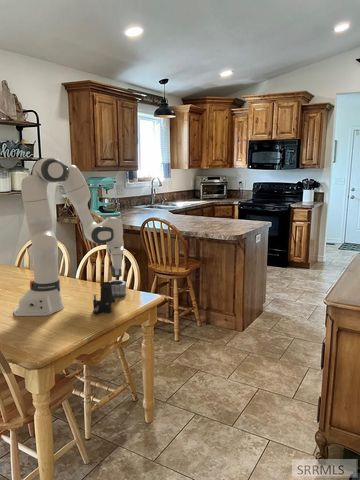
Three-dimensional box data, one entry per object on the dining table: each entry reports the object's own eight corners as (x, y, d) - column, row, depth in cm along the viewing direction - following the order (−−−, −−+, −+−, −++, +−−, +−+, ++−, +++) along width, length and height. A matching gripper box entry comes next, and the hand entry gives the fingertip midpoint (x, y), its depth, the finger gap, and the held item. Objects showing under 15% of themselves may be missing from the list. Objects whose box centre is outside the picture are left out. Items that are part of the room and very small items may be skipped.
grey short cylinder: (107, 298, 201) (107, 286, 200) (106, 292, 210) (105, 280, 209) (127, 296, 203) (126, 285, 202) (124, 290, 213) (124, 279, 212)
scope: (92, 282, 183) (113, 280, 185) (93, 309, 185) (114, 307, 188) (93, 287, 175) (115, 285, 178) (94, 316, 178) (116, 313, 181)
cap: (112, 277, 202) (111, 267, 201) (111, 274, 207) (110, 264, 206) (122, 276, 203) (121, 266, 202) (121, 273, 208) (120, 263, 207)
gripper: (107, 243, 211) (108, 268, 214) (110, 252, 191) (112, 278, 194) (119, 243, 212) (120, 267, 215) (123, 251, 193) (124, 277, 196)
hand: (116, 272), depth 205 cm, fingers closed on cap, 5 cm apart
